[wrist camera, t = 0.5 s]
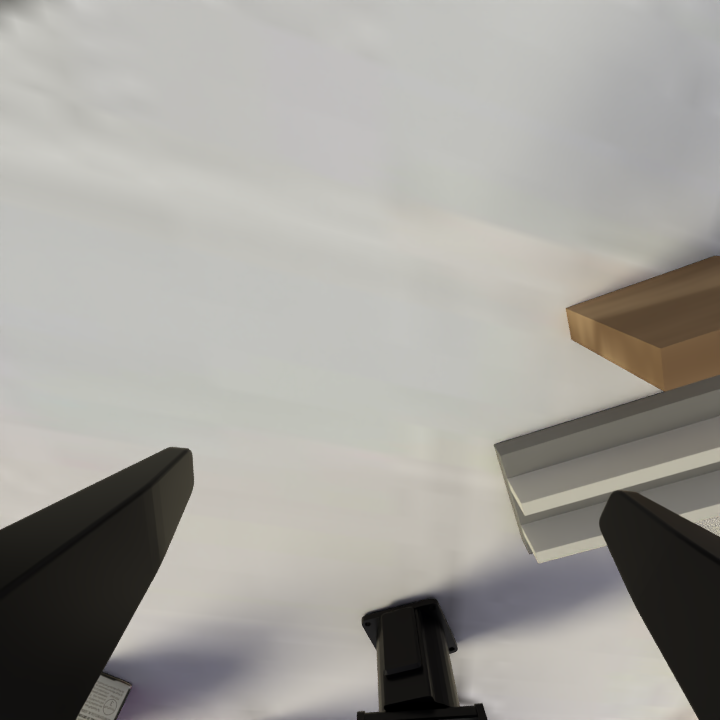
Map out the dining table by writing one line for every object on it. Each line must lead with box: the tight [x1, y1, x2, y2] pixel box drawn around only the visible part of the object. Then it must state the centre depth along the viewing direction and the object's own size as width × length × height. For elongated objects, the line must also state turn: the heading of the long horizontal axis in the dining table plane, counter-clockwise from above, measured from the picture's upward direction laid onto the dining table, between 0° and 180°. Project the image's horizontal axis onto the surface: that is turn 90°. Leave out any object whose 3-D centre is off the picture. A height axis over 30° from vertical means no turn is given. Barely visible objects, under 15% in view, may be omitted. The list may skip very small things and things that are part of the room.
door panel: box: [566, 256, 720, 392], centre depth 17 cm, size 2×8×7 cm, turn 111°
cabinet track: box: [494, 375, 720, 564], centre depth 22 cm, size 9×20×3 cm, turn 111°
